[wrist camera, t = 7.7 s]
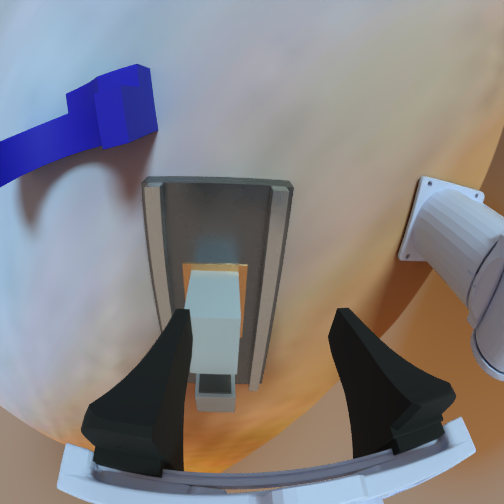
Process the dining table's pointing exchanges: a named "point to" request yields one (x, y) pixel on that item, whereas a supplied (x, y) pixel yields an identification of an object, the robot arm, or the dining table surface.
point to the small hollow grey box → (215, 392)
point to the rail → (220, 250)
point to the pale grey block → (214, 321)
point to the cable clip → (86, 122)
